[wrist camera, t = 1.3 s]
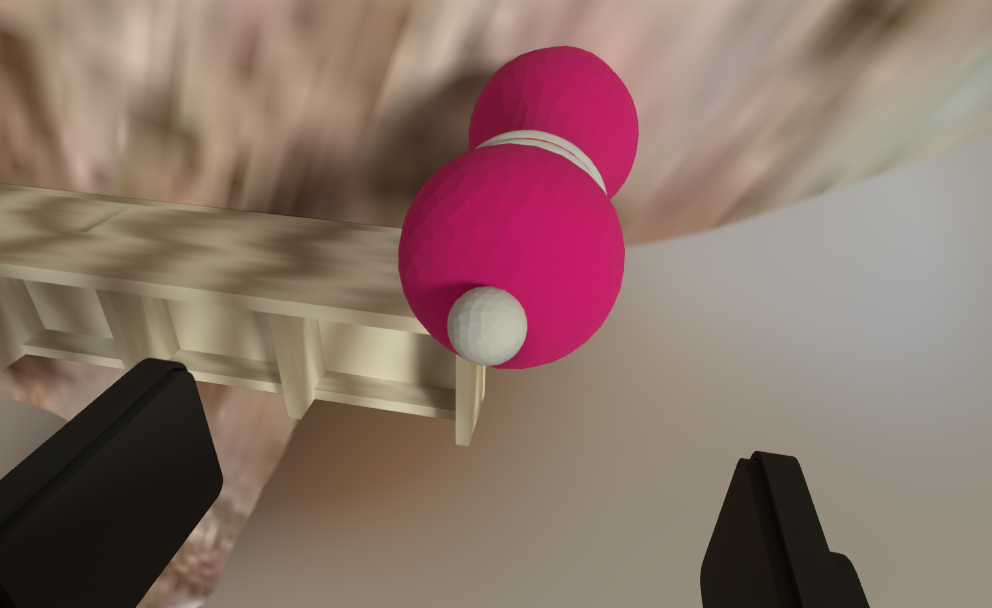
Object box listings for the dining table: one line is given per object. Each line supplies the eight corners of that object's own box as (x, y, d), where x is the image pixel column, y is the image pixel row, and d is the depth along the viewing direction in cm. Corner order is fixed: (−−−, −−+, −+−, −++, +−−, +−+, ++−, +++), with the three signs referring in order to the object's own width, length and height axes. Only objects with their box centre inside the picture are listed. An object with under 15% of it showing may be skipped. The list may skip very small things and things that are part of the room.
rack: (48, 330, 44) (-77, 415, 36) (-20, 178, 38) (-190, 241, 30) (484, 395, 39) (450, 507, 32) (489, 235, 33) (448, 326, 25)
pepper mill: (573, 210, 32) (518, 514, 15) (462, 127, 30) (266, 358, 14) (668, 98, 28) (739, 337, 11) (547, -1, 27) (420, 99, 10)
